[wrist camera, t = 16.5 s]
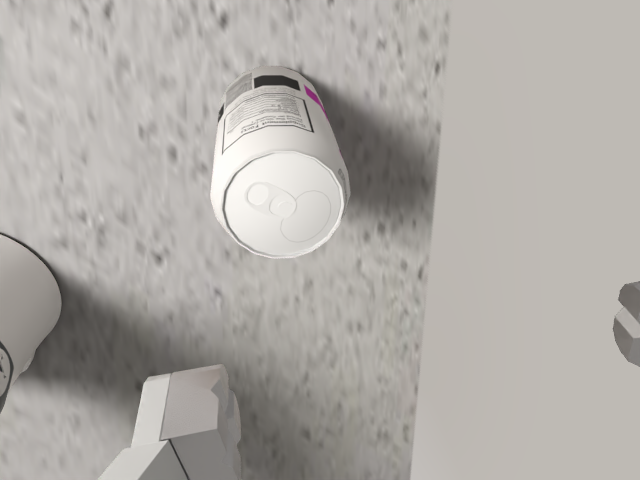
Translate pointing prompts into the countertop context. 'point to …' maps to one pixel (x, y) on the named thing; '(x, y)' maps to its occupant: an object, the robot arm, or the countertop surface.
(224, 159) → the supplement can
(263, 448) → the countertop surface
